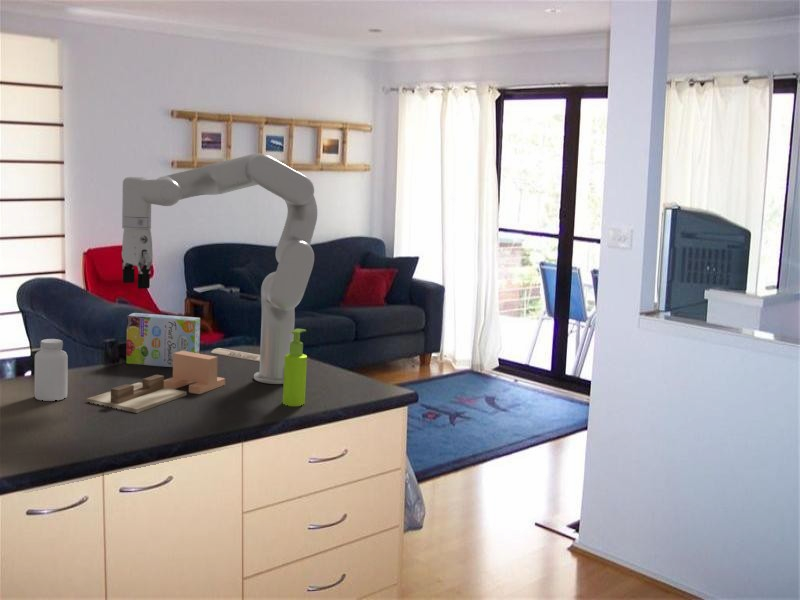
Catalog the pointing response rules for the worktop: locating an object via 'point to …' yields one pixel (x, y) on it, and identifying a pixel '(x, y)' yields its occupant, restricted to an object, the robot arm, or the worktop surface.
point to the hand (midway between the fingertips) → (135, 285)
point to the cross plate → (194, 372)
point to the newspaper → (236, 354)
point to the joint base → (138, 395)
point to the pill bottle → (51, 371)
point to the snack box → (160, 338)
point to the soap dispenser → (295, 372)
